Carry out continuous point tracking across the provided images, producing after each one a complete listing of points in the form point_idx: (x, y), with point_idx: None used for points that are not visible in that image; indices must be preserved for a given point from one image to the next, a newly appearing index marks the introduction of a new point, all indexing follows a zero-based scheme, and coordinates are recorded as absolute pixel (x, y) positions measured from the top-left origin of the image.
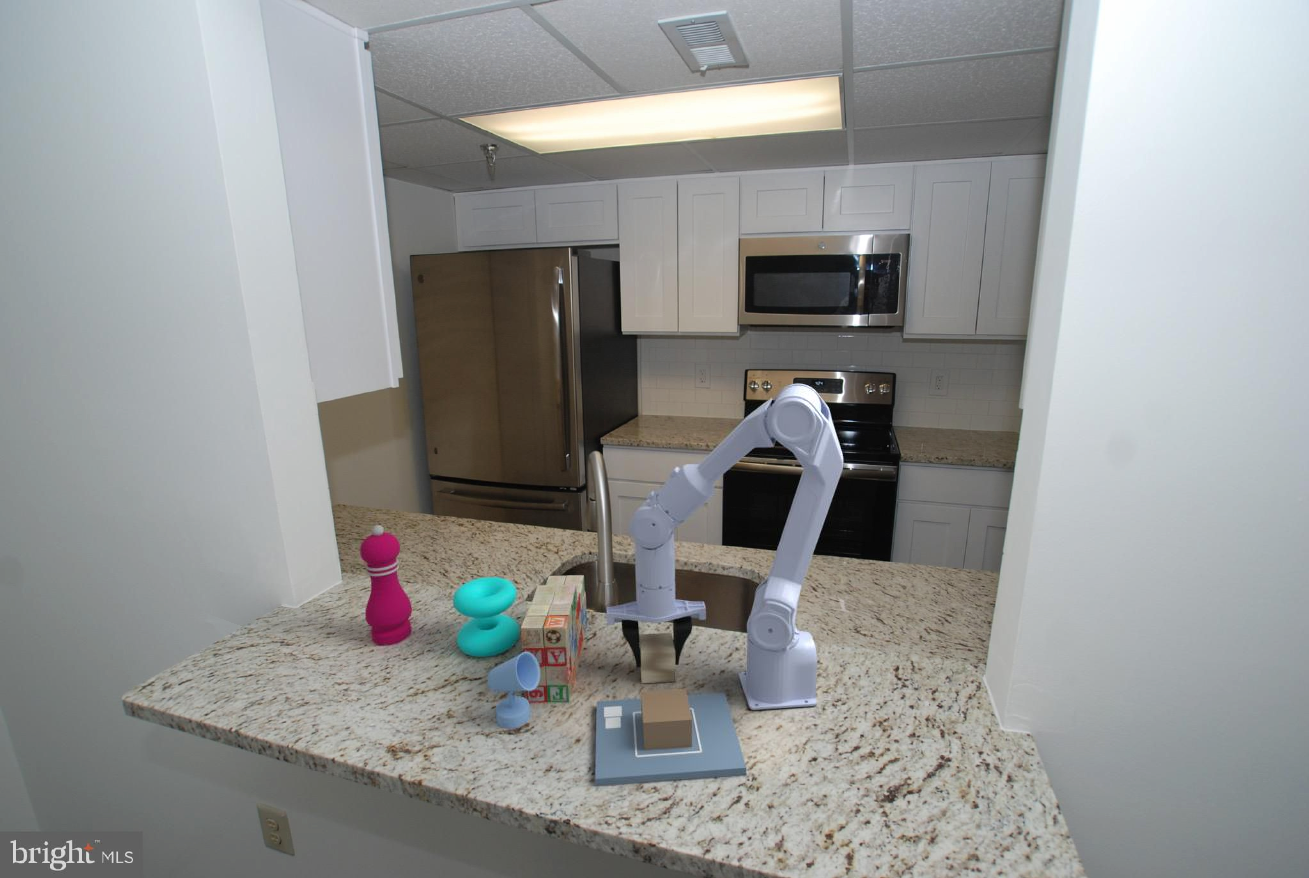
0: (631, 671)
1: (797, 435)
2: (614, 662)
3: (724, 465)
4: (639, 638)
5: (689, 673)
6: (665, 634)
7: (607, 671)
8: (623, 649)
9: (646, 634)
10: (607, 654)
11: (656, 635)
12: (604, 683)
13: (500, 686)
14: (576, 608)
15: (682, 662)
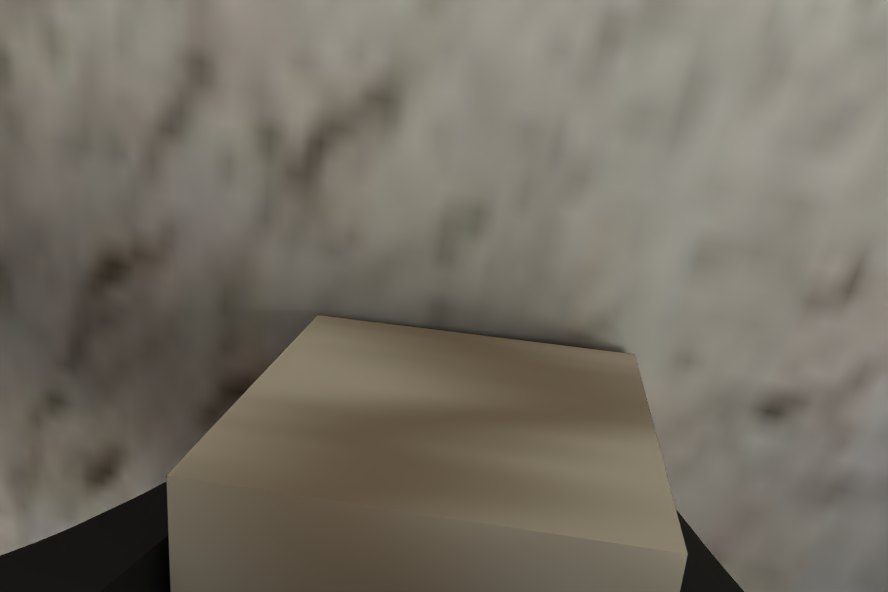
0: (239, 395)
1: None
2: (90, 232)
3: None
4: (174, 547)
5: (748, 542)
6: (571, 579)
7: (39, 348)
8: (170, 21)
9: (275, 505)
10: (16, 84)
11: (425, 565)
12: (29, 489)
13: None
14: None
15: (737, 376)
